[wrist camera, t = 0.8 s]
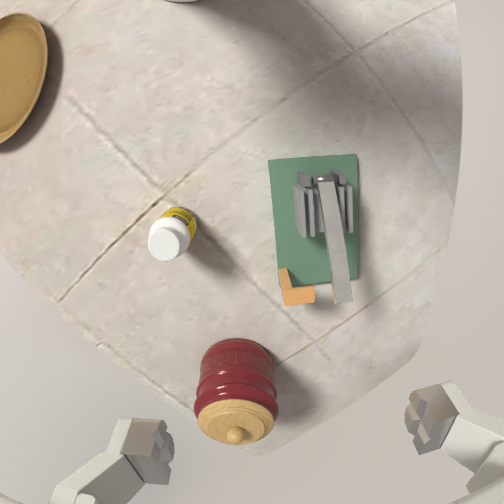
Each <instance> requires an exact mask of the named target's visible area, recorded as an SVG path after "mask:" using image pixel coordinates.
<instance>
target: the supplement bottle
mask: <svg viewBox="0 0 504 504" xmlns="http://www.w3.org/2000/svg"><path fill="white" fill-rule="evenodd" d="M196 230H197V219H196V217H195V215H194V214H193V212H192V211H191V210H189V209H188V208H185V207H182V206H176V207H172V208H170V209H168V210H167V211H166V212H165V213H164V214H163V215H162V216H161V217H160V218H159V219H158V220H157V221H156V222H155V223H154V224H153V225H152V227H151V229H150V232H149V240H148V248H149V251H150V253H151V254H152V255H153V256H154V257H155V258H156V259H158V260H161V261H169V260H172V259H174V258H176V257H178V256H180V255H182V254H183V253H184V252H185V251H186V250H187V248H188V246H189V244H190V242H191V240H192V238H193V237H194V235H195V233H196Z"/></svg>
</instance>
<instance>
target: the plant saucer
mask: <svg viewBox="0 0 504 504" xmlns="http://www.w3.org/2000/svg"><path fill="white" fill-rule="evenodd" d="M47 65H48V44H47V39H46V35H45V32H44V30H43V28H42V26H41V24H40V23H39V22H38V20H37V19H36V18H34V17H33V16H31V15H29V14H26V13H13V14H9V15H7V16H4V17H2V18H0V144H1V143H3V142H4V141H6V140H7V139H8V138H10V137H11V136H12V135H13V134H14V133H15V132H16V131H17V130H18V129H19V128H20V127H21V126H22V125H23V124H24V122H25V121H26V119H27V118H28V117H29V115H30V113H31V112H32V110H33V108H34V106H35V104H36V102H37V100H38V98H39V96H40V93H41V90H42V87H43V84H44V81H45V77H46V72H47Z"/></svg>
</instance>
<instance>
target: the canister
mask: <svg viewBox="0 0 504 504" xmlns="http://www.w3.org/2000/svg"><path fill="white" fill-rule="evenodd" d="M200 373H201V374H200V380H199V385H198V388H197V392H196V395H197V399H196V401H195V404H194V413H195V415H196V417H197V419H198V425H199V427H200V429H201V430H202V431H203V432H204V433H205V434H206V435H207V436H209V437H210V438H212V439H214V440H217V441H219V442H222V443H225V444H231V445H243V444H248V443H252V442H255V441H258V440H260V439H262V438H264V437H265V436H267V435H268V434H269V433H270V432H271V430H272V429H273V426H274V421H275V420H276V418H277V416H278V405H277V402H276V399H277V392H276V389H275V383H274V365H273V361H272V359H271V357H270V355H269V353H268V352H267V351H266V349H265V348H263V347H262V346H261V345H259V344H258V343H256V342H253V341H250V340H247V339H240V338H233V339H226V340H223V341H220V342H218V343H216V344H214V345H213V346H211V347H210V348H209V349H208V350H207V352H206V353H205V355H204V357H203V359H202V362H201V367H200Z"/></svg>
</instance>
